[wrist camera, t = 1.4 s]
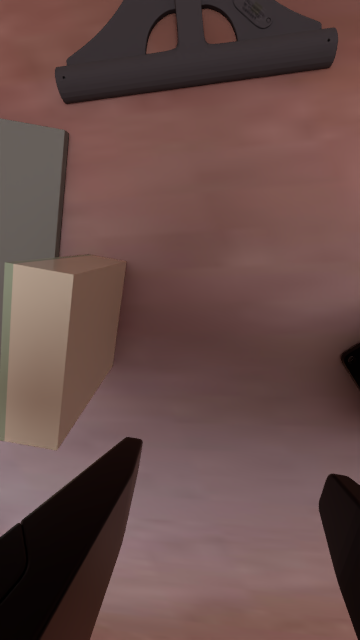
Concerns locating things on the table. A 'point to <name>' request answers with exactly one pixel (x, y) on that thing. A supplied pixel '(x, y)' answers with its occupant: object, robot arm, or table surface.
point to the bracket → (193, 49)
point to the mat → (30, 193)
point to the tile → (55, 343)
